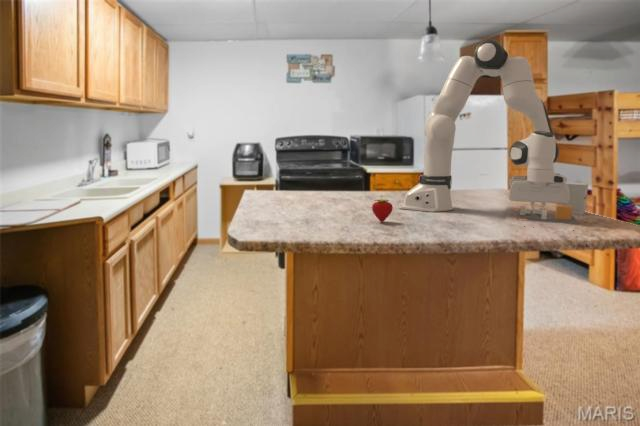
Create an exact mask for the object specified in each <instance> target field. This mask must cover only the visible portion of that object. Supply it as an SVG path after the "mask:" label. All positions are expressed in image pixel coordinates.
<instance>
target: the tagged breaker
mask: <svg viewBox="0 0 640 426" xmlns="http://www.w3.org/2000/svg"><path fill="white" fill-rule="evenodd" d="M547 213H548V210H547V209H544V208H543V210H542V214H541V219H544V220H546V216H547V215H548V214H547Z"/></svg>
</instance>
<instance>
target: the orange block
mask: <svg viewBox="0 0 640 426" xmlns="http://www.w3.org/2000/svg"><path fill="white" fill-rule="evenodd" d="M554 213H555V214H554V215H555V217H556V219H571V217H572V216H573V214H572V206H571V205H563V204H556V205H555V212H554Z"/></svg>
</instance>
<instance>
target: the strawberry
mask: <svg viewBox="0 0 640 426" xmlns="http://www.w3.org/2000/svg"><path fill="white" fill-rule="evenodd" d="M382 197H383V195H381V196H380V199H374V201H376V202H373V204H372V206H371V210H372V212H373V214H374V216H375V217H376V218H377V219H378V221H379V222H380V223H384V222H385V220H386V219H387V218H388V217H389V216H390V215H391V213H392V212H393V204H392V203H391V202H389V201H390V200H389V199H383V198H382Z"/></svg>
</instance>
